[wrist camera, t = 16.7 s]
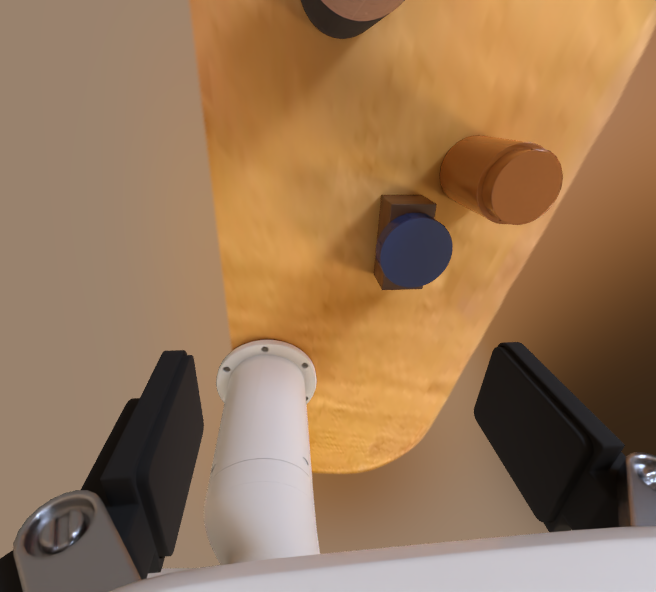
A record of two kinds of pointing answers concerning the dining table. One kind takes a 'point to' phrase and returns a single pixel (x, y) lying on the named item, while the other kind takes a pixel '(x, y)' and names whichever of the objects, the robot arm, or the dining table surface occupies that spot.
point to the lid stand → (391, 210)
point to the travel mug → (347, 15)
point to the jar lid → (413, 250)
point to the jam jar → (501, 178)
